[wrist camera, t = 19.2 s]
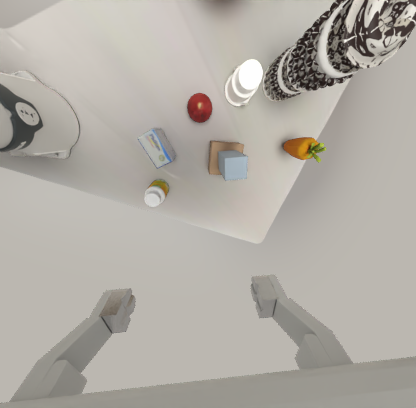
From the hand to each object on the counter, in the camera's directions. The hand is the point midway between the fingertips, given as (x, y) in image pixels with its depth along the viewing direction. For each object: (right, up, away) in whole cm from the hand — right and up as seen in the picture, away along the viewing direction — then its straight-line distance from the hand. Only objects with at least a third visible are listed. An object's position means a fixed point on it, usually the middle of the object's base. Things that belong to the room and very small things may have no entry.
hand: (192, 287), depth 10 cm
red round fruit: (-1, +30, +29) cm, 42 cm away
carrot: (+23, +23, +34) cm, 47 cm away
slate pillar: (+6, +17, +29) cm, 34 cm away
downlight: (+9, +34, +28) cm, 45 cm away
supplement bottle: (-14, +11, +38) cm, 42 cm away
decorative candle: (+18, +36, +27) cm, 49 cm away
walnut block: (+5, +20, +35) cm, 40 cm away
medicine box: (-12, +22, +32) cm, 41 cm away
